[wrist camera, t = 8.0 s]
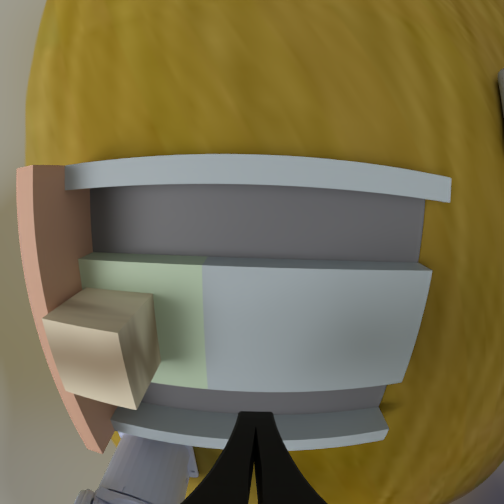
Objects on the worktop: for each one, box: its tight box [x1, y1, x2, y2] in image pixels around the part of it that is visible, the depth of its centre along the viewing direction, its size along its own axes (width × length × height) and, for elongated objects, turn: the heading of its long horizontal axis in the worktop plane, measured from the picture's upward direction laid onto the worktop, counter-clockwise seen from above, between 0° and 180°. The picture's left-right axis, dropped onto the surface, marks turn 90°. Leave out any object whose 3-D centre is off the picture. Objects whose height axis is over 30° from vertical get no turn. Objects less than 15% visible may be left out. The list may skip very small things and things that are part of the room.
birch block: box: [42, 287, 161, 410], centre depth 14 cm, size 5×5×5 cm
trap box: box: [16, 154, 451, 454], centre depth 16 cm, size 21×24×6 cm
